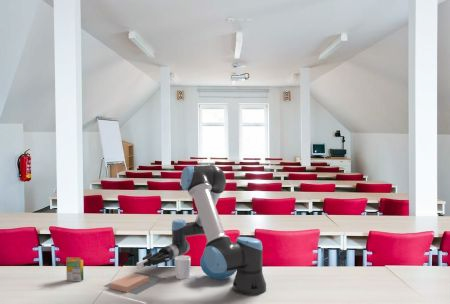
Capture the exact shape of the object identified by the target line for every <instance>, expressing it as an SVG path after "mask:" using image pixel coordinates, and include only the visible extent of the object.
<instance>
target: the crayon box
mask: <svg viewBox="0 0 450 304" xmlns="http://www.w3.org/2000/svg"><path fill="white" fill-rule="evenodd" d="M65 262H66V264H65V265H66V282H82V281H83V280H84V259H81V257H69V256H67V257H66V260H65Z"/></svg>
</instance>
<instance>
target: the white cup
mask: <svg viewBox="0 0 450 304" xmlns="http://www.w3.org/2000/svg"><path fill="white" fill-rule="evenodd" d="M191 258H192V257H191V256H190V255H185V254H183V255H181V256H177V257H175V258H174V269H175V271H174V272H175V278H176V279H178V280H187V279H189V278H190V277H191V262H192V261H191Z"/></svg>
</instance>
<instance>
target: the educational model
mask: <svg viewBox="0 0 450 304" xmlns="http://www.w3.org/2000/svg"><path fill="white" fill-rule="evenodd" d="M199 263H200V267H201V270H202V271H203V273H204V274H205V275H206V276H208V277H209V278H210V279H214V280H223V279H228V278H230V277H231V276H233V275H234V274H236V273H237V269H236V270H231V271H226V272H223V273H213V272H212V271H210V270H209V269H208V268H207V266H206V264H205V261H204V255H203V254H202V255H201V258H200V262H199Z"/></svg>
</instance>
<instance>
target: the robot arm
mask: <svg viewBox="0 0 450 304" xmlns="http://www.w3.org/2000/svg"><path fill="white" fill-rule="evenodd" d="M226 184H227V178H226V174H225V172H224V171H223V170H222V169H221V168H220V167H219V166H216V165H215V164H208V165H206V164H205V165H189V166H185V167H184V168H183V170H182V171H181V175H180V185H181V189H182V190H183V191H187V193H188V195H189V196H190V197H191V198H193V201H194V204H195V207H196V210H197V215H196V218H195V220H194V221H189V222H187V221H186V220H185V219H183V218H182V219H179V218H178V219H174V220H173V221H172V222H171V243H170V244H168V245H166V246H164V247H161V248H159V250H158V251H157V252H155V253H152V252H149V253H148V254H146V255H145V256H143V257H142V260H140V261H138V262H136V269H137V270H140V269H142V268H144V267H147V266H155V265H159V264H162V263H167V262H170V261H173V260H175V257H177V256H182V255H185V254H186V253H188V252H189V250H190V243H189V242H188V240H186V239H187V238H186V237H193V236H202V235H205V238H206V243H205V248H204V249H203V254H202V255H204V261H205V264H206V266H207V268H208V269H209V270H210V271H212V272H213V273H223V272H226V271H231V270H236V269H237V270H236V272H235V276H234V280H233V283H232V290H233V291H234V292H235V293H238V294H239V295H245V296H256V295H261V294H263V293H265V292H266V290H267V283H266V280H265V277H264V274H263V243H262V241H261V240H260V239H258V238H254V237H250V236H248V237H247V236H238V237H237V238H236V240H235V242H232V240H231V237H230V236H229V235H226V232H225V230H224V227H223V225H222V222H221V221H222V220H221V219H220V216H219V212H218V209H217V207H216V205H217V203H218V201H219V199H220V196H221V194H223V193H224V191H225V188H226V186H227V185H226Z"/></svg>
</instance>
